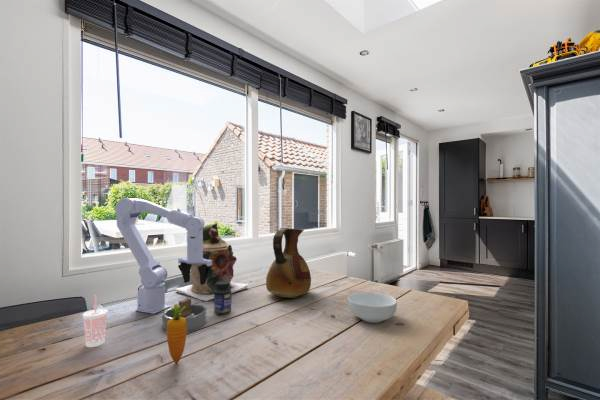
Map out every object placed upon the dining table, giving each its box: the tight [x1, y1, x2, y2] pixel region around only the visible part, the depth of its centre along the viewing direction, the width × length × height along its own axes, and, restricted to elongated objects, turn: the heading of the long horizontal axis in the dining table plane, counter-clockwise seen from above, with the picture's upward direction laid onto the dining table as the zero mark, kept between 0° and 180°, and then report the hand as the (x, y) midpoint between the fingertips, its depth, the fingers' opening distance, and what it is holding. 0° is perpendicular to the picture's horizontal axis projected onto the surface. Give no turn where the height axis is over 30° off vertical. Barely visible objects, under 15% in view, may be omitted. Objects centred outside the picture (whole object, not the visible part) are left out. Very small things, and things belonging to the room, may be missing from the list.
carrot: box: [166, 303, 188, 364], centre depth 77 cm, size 5×5×15 cm
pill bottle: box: [213, 281, 232, 316], centre depth 112 cm, size 6×6×11 cm
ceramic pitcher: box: [265, 227, 312, 299], centre depth 133 cm, size 20×20×30 cm
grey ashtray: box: [161, 303, 208, 332], centre depth 102 cm, size 14×14×4 cm
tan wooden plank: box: [178, 297, 192, 318], centre depth 102 cm, size 2×4×7 cm, turn 159°
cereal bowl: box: [347, 291, 398, 324], centre depth 106 cm, size 17×17×7 cm
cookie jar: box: [175, 221, 249, 302], centre depth 139 cm, size 25×25×32 cm
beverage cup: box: [82, 294, 109, 348], centre depth 87 cm, size 6×6×14 cm
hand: (194, 283), depth 115 cm, fingers open, 7 cm apart
